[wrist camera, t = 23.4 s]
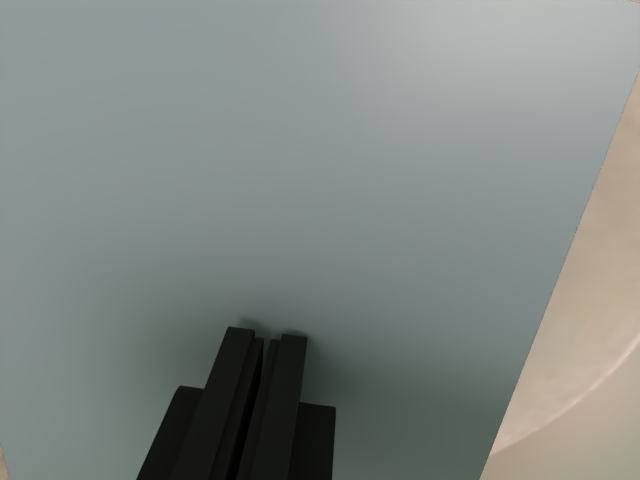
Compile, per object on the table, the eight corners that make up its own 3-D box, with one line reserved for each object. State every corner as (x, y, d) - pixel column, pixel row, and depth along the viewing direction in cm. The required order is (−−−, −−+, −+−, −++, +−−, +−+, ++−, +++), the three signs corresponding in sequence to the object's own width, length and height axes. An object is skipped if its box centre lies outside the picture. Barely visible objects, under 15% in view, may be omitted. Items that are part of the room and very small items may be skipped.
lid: (415, 619, 15) (409, 658, 14) (35, 465, 18) (12, 489, 17) (644, 3, 7) (665, 5, 6) (-81, -91, 10) (-136, -98, 9)
